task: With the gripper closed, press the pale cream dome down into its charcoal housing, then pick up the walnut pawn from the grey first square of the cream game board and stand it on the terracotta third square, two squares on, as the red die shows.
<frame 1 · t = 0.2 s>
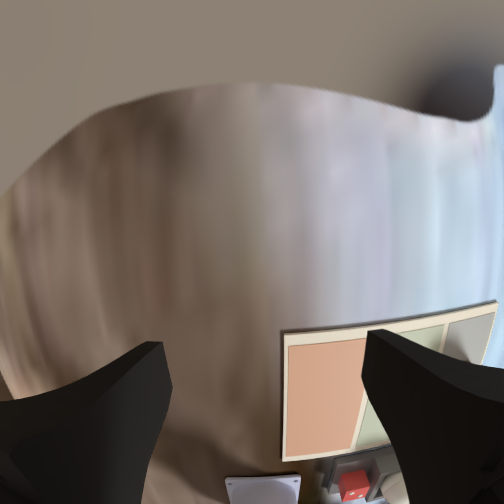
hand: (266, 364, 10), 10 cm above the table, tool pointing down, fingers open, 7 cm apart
dome housing: (376, 465, 24), on the table
dome: (403, 486, 20), point 4 cm above the table, slide at 0.0 cm
game board: (398, 392, 22), on the table
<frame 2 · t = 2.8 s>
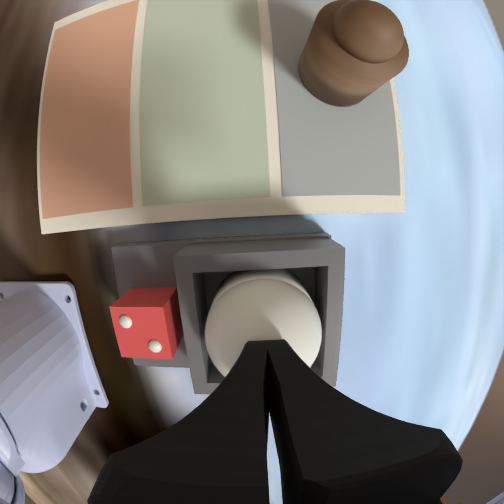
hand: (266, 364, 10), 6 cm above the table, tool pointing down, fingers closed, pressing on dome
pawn: (335, 72, 13), resting on game board
dome housing: (222, 302, 15), on the table
dome: (263, 333, 12), point 4 cm above the table, slide at 0.7 cm, touching gripper
game board: (200, 77, 13), on the table
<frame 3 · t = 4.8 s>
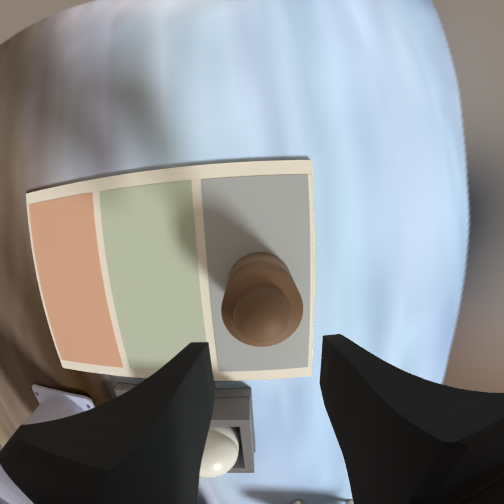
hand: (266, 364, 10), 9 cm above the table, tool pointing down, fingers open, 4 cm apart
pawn: (259, 283, 18), resting on game board
dome housing: (187, 418, 21), on the table
dome: (206, 449, 18), point 3 cm above the table, slide at 0.9 cm
game board: (154, 285, 19), on the table
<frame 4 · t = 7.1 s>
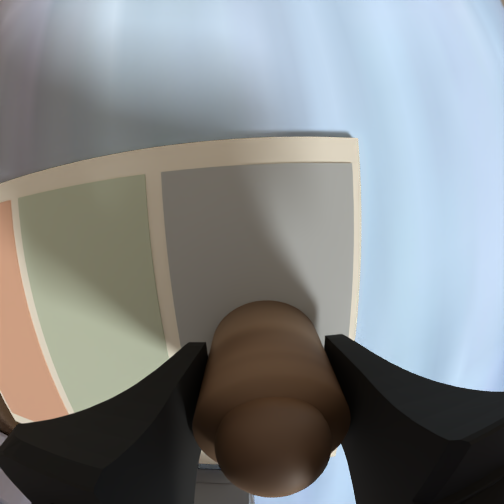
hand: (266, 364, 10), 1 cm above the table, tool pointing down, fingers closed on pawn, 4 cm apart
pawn: (265, 349, 11), resting on game board, touching gripper
dome housing: (169, 492, 13), on the table
game board: (101, 342, 11), on the table
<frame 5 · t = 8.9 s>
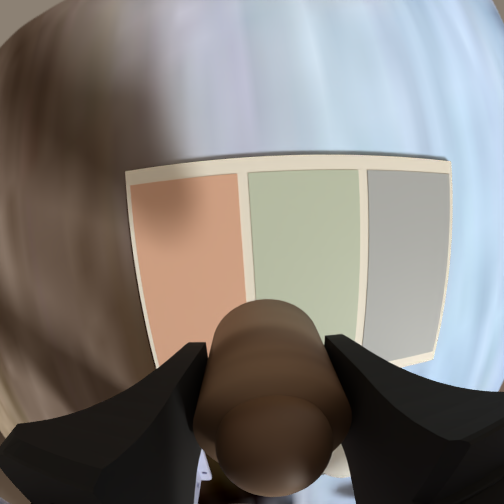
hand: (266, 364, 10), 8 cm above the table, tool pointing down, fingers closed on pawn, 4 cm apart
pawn: (266, 348, 11), point 7 cm above the table, touching gripper
dome: (344, 448, 17), point 3 cm above the table, slide at 0.9 cm
game board: (308, 281, 18), on the table
when the fingers open (3 cm above the table, at t = 10.7 s): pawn drops 1 cm, resting on game board.
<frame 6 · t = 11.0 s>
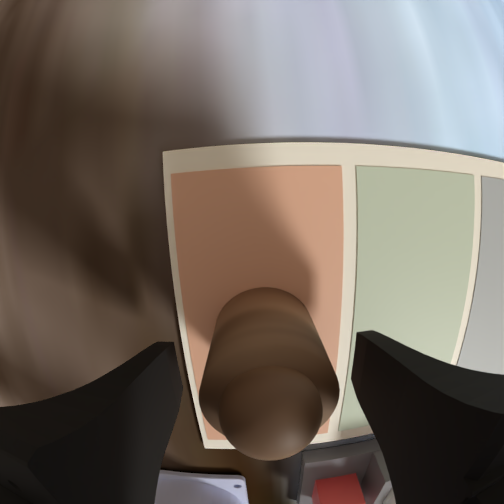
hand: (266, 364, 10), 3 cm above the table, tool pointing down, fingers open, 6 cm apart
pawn: (264, 333, 12), resting on game board
dome housing: (377, 465, 14), on the table
dome: (418, 492, 11), point 3 cm above the table, slide at 0.9 cm
game board: (412, 315, 12), on the table
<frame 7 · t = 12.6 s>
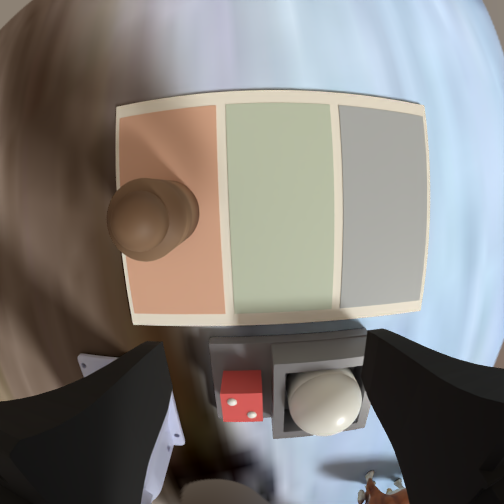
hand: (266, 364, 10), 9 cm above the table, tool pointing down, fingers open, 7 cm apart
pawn: (167, 212, 17), resting on game board
dome housing: (289, 374, 20), on the table
bull figurine: (393, 475, 24), on the table
dome: (325, 401, 17), point 3 cm above the table, slide at 0.9 cm
game board: (282, 208, 18), on the table
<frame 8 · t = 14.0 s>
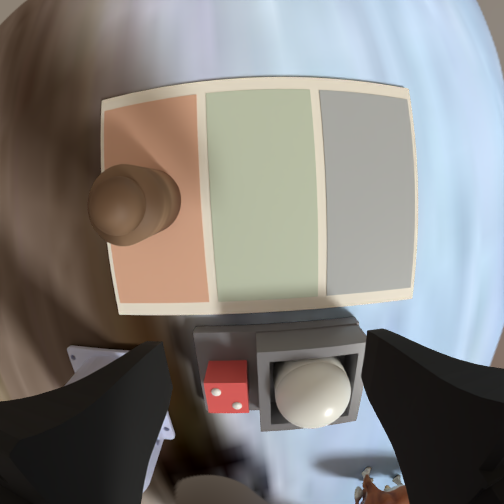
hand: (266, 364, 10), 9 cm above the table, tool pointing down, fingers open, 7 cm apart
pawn: (150, 201, 17), resting on game board
dome housing: (277, 365, 20), on the table
bull figurine: (391, 472, 24), on the table
dome: (313, 392, 17), point 3 cm above the table, slide at 0.9 cm
game board: (263, 194, 18), on the table
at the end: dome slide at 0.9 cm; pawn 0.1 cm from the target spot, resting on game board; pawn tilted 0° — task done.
